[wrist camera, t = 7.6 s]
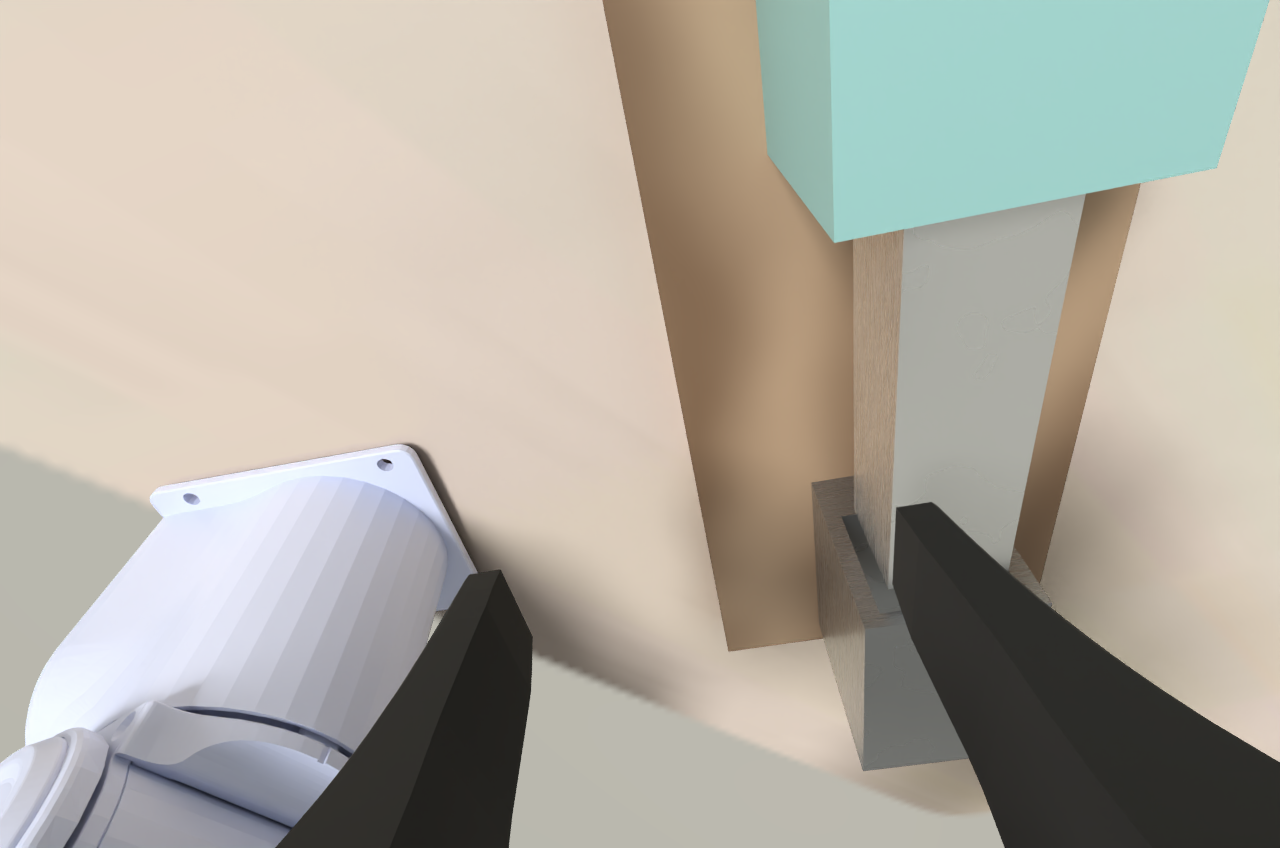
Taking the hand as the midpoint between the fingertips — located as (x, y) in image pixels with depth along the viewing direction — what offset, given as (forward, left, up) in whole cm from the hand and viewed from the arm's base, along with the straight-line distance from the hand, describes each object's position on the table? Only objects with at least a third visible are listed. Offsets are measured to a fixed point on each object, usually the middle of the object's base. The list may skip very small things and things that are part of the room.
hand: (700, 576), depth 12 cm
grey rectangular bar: (+6, +1, -6) cm, 9 cm away
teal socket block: (+6, +7, -8) cm, 12 cm away
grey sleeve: (+6, -9, -8) cm, 14 cm away
